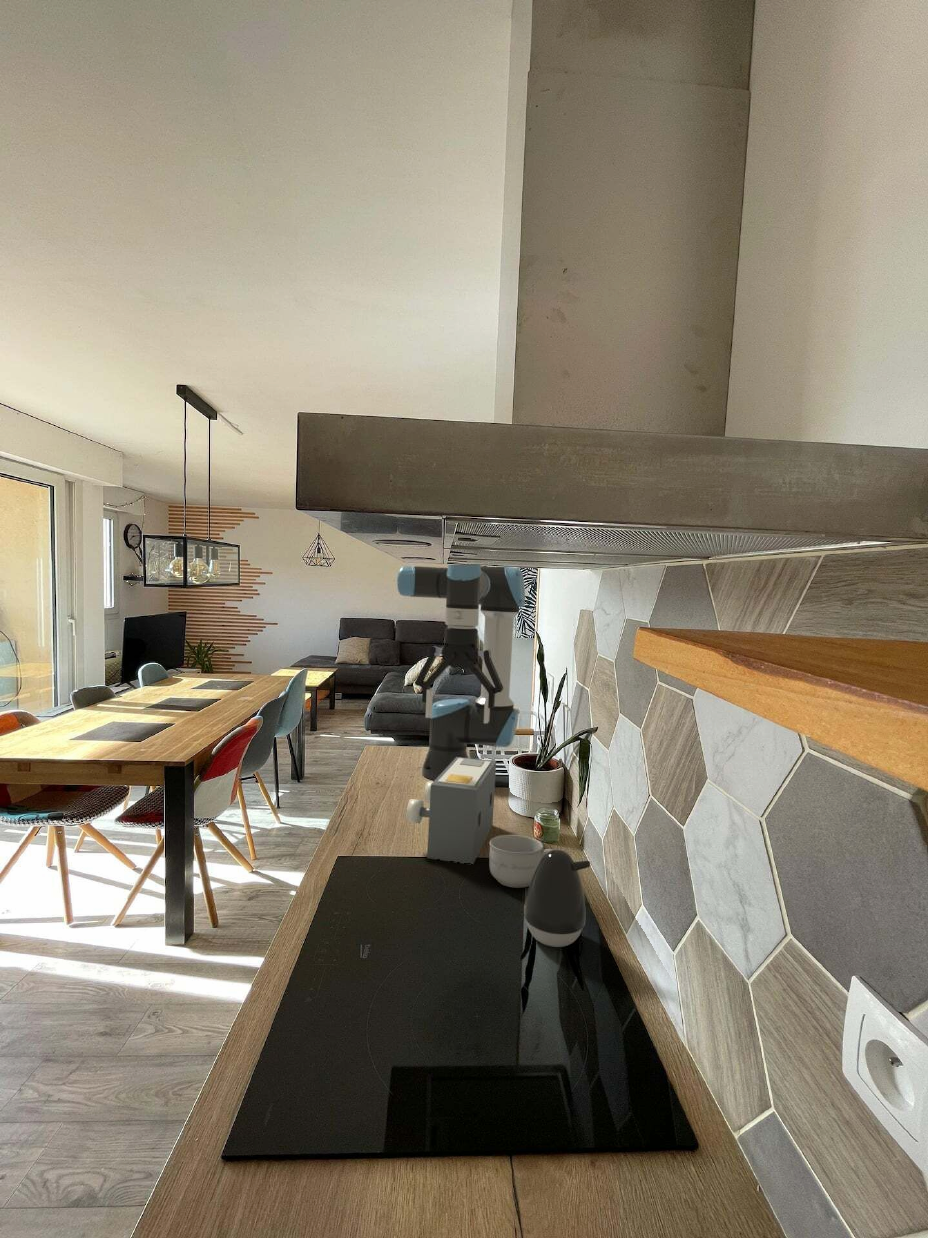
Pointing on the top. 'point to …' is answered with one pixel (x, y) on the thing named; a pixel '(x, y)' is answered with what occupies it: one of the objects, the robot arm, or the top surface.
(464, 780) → the box
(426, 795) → the unmarked button
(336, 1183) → the top surface
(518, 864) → the teacup
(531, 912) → the pump dispenser
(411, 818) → the marked button
